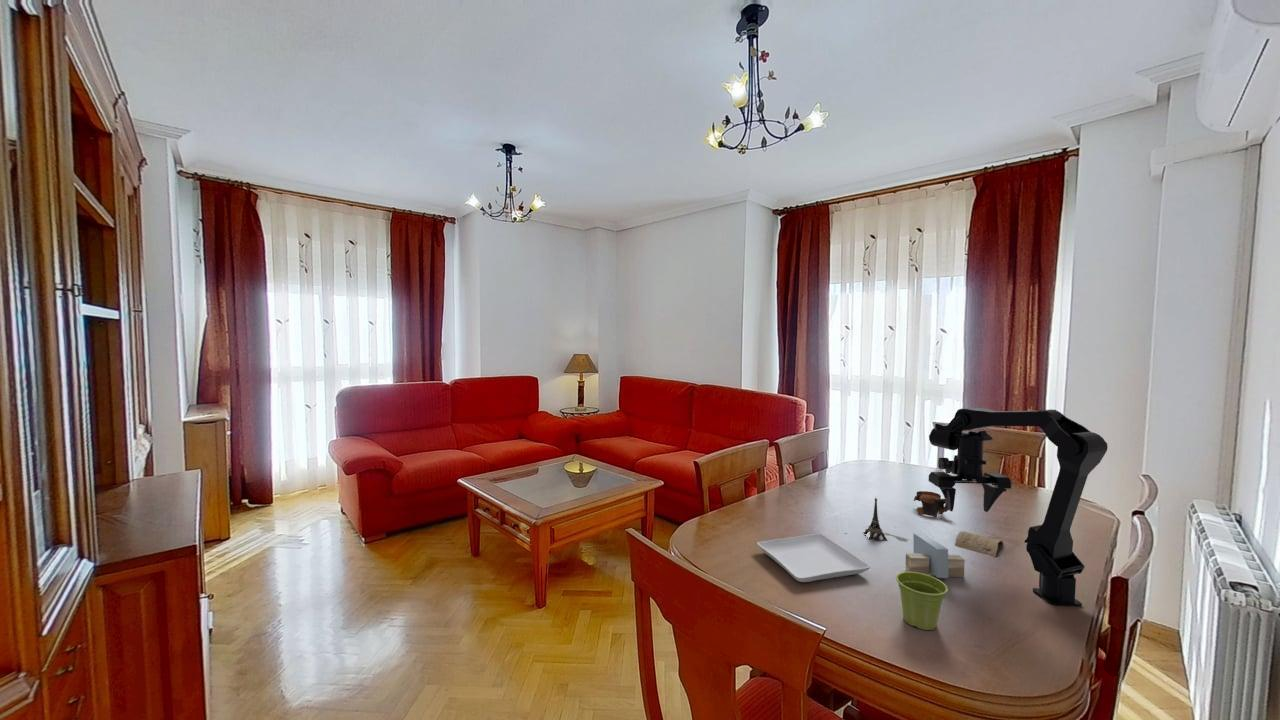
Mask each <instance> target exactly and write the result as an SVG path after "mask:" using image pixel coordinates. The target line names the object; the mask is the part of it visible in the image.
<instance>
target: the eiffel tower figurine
mask: <svg viewBox="0 0 1280 720" xmlns="http://www.w3.org/2000/svg"><path fill="white" fill-rule="evenodd" d="M878 516H879V515H878V498H877V497H875V498H874V507H873V517H872V518H871V523H870V525H868V527H867V528H868V529H865V532H863V533H864V534H867V533H868V532H870V533H869V534H870V537H869V539H868V541H870V540H873V541H874V542H875V541H877V542H889V541H888V539H887V537H886V536H889V537H893V538H895V539H897V540H898V541H899V542H908V541H909V539H908V538H904V537H901V536H897V535H894V534H891V533H887V532H885V531H883V529H882V528H881V525H880V520H879V517H878ZM864 534H863V535H864Z"/></svg>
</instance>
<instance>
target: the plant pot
mask: <svg viewBox="0 0 1280 720" xmlns="http://www.w3.org/2000/svg"><path fill="white" fill-rule="evenodd" d="M895 579H896V582H897V583H898V588H899V590H900V591H899V592H900V598H901V606H902V608H901V609H902V618H903V620H904V621H905V623H907V624H908V625H910V626H913V627H916V628H918V629H919V630H923V631H934V630H935V629H936V627H937V626H938V623H939V622H938V621H939V616H940V612H941V606H942V602H943V600H944V599H945V595H946V594H947V593H948V590H949V589H948V586H947V584H945V583H944V582H943V581H942V580H940V579H938V578H937V577H935V576H929V575H926V574H923V573H918V572H907V571H901V572H900V573H897V575H895Z"/></svg>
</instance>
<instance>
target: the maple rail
mask: <svg viewBox="0 0 1280 720" xmlns="http://www.w3.org/2000/svg"><path fill="white" fill-rule="evenodd" d="M965 564H966V563H965V558H963V557H962V556H961V555H959V554H948V578H949V577H951V578H953V577H955V578H958V577H959V578H964V577H965ZM904 568H905V572H918V573H923V574H926V575H929V576H932V577H936V576H935V575H933V574H932V573H931V572H929V558H928V557H927V556H926V555H925V554H916V553H914V552H913V553H912V552H910V553H909V552H908V553H907V552H906V553H905V567H904Z"/></svg>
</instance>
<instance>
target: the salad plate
mask: <svg viewBox="0 0 1280 720" xmlns="http://www.w3.org/2000/svg"><path fill="white" fill-rule="evenodd" d="M756 545H757V547H758V549H760V550H761V551H762V552H763V553H765V554H766V555H767V556H768V557H770V559H772V561H775V562H776V563H777V564H778V565H779V566H780V567H782V568H783V569H784V570H785V571H786V572H788V574H789V575H791V577H792V578H793V579H795V580H796V581H797V582H801V583H810V582H816V581H819V580H820V581H821V580H827V579H828V580H829V579H833V578H834V577H835V578H839V577H847V576H852V575H858V574H862V573H865V572H868V570H870V569H871V565H869V564H868V563H867V562H865V561H863V560H862V559H861V558H860V557H857V556H856V555H855V554H853V553H852V552H850V551H849V550H847V549H845V548H844V547H842V546H841V545H839V543H836V542H835V541H833V540H832V539H830V538H829V537H828V536H826V535H824V534H822V533H814V534H813V533H811V534H807V535H806V534H805V535H797V536H791V537H785V538H784V537H783V538H777V539H770V540H763V541H757V542H756ZM835 578H834V579H835Z"/></svg>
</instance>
